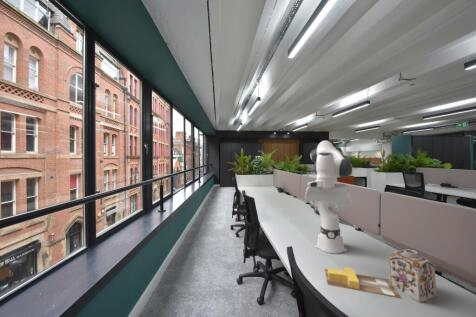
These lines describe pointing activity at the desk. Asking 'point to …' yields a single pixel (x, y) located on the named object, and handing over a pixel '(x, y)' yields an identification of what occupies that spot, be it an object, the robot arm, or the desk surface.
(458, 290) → the desk surface
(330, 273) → the t block
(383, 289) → the board
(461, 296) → the desk surface
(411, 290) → the decorative jar
